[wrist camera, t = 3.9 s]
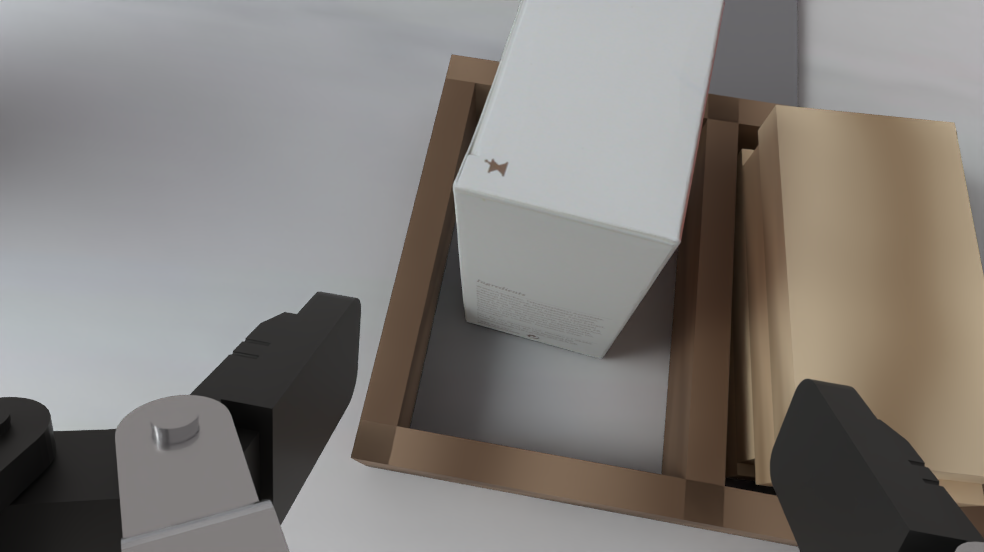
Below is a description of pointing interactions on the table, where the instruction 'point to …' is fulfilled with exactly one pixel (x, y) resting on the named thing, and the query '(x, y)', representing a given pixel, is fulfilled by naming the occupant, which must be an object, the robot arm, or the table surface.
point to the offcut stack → (858, 286)
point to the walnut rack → (693, 357)
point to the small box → (583, 165)
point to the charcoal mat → (758, 52)
